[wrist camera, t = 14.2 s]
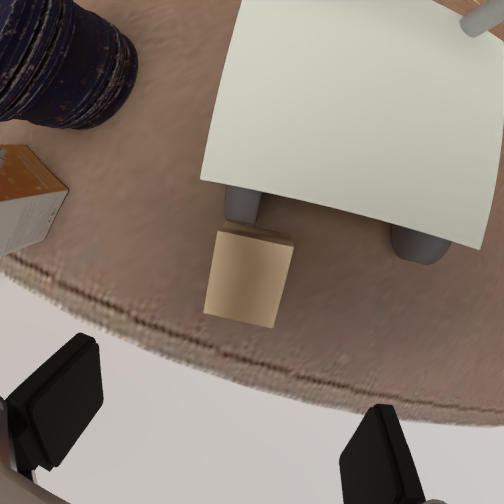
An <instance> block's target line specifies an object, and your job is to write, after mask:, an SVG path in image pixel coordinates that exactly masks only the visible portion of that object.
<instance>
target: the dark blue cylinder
mask: <svg viewBox="0 0 504 504" xmlns="http://www.w3.org/2000/svg"><path fill="white" fill-rule="evenodd" d="M137 71H138V57H137V52H136V49H135V47H134V45H133V44H132V42H131V41H130V40H129V39H128V38H127V37H126V36H125V35H123V34H122V33H120V31H119V30H118V29H117V28H116V27H115V26H114V25H113V24H111V23H110V22H109V21H107V20H105V19H104V18H101V17H100V16H98V15H97V14H95V13H94V12H91V11H88V10H85V9H83V8H82V7H80V6H79V5H77V4H76V3H74V2H73V0H0V122H4V121H9V120H12V119H19V120H27V121H29V122H30V123H33V124H35V125H41V126H47V127H52V128H60V129H64V128H71V129H78V130H82V129H89V128H93V127H95V126H98V125H100V124H102V123H103V122H105V121H107V120H108V119H109V118H110V117H112V116H113V115H114V114H115V113H116V112H117V111H118V110H119V109H120V108H121V106H122V105H123V104H124V102H125V101H126V99H127V98H128V96H129V95H130V93H131V90H132V88H133V86H134V83H135V80H136V77H137Z"/></svg>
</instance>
